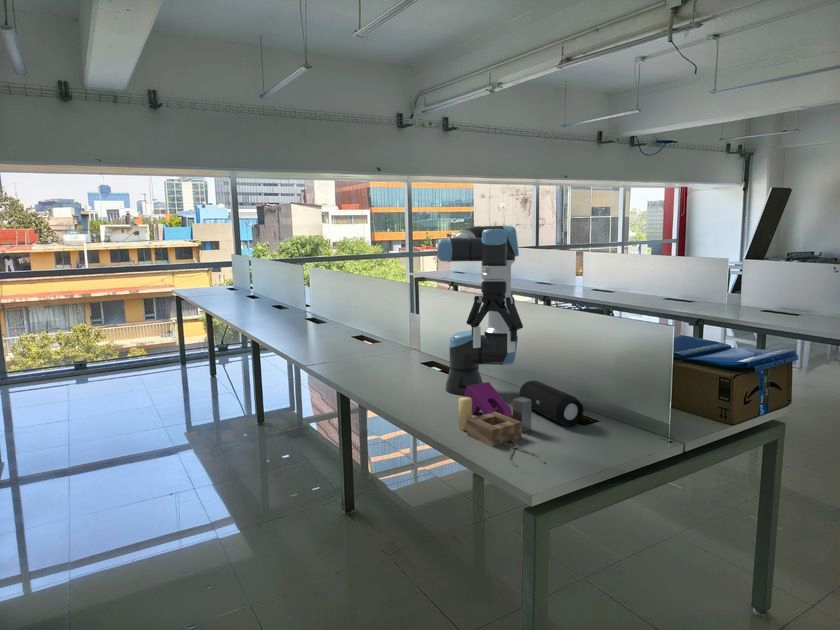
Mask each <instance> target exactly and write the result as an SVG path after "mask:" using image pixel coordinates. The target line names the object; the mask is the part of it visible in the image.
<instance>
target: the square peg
mask: <svg viewBox="0 0 840 630" xmlns="http://www.w3.org/2000/svg"><path fill="white" fill-rule="evenodd" d="M531 405H532V400H530V399H527V398H524V397H520V396H519V397H516V398H513V399H512V419H515V420H518V421H520V422H522V428H521V434H522V433H526V432H528V431H532V409H531Z"/></svg>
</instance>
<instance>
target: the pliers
mask: <svg viewBox="0 0 840 630" xmlns="http://www.w3.org/2000/svg"><path fill="white" fill-rule="evenodd" d="M509 442H510V443H509ZM502 445H504V446H505V447H506V448H508V450H509V456H508V461H509V462H510V463H511V465H512V466H514V467H515V466H516V467H515V468H518V467H517V466H518V465H517V464H516V463H515V462H514V461H513V456H514V454H515V450H517V451H519V452H522V453H525V454H527V455H530V456H534V457H536V458H537V459H539V460H540V461H541V462H542V463H543V464H546V461H545V459H544V458H543V457H542V456H541V455H538V454H536V453H535V452H532V451H528V450H526V449H524V448H522V447H521V446H520V445H519V444H518V442H517V441H515V440H513V439H510V441H508V442H506V441H504V442H503V443H502Z"/></svg>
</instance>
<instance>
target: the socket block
mask: <svg viewBox="0 0 840 630" xmlns="http://www.w3.org/2000/svg"><path fill="white" fill-rule="evenodd" d="M521 428H522V422H520V421H518V420H515V419H513V417H511V416H510V417H507V416H505V415H502V414H501V413H500V412H497V411H496V412H493V413H489V414H486V415H484V414H481V415H478V416H474V417H472V418H470V419H467V431H466V436H467V435H468V436H469V437H471V438H474V439H476V440H478V441H480V442H482V443H484V444H486V445H488V446H491V447H495V446H497V445H498V446H499V445H501V444H502V445H503V442H504V441H506V442H508V443H509V442H511V441H510V439H513V440H514V441H515V440H518V439H520V438H522V433H521Z"/></svg>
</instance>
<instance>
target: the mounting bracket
mask: <svg viewBox="0 0 840 630" xmlns="http://www.w3.org/2000/svg"><path fill="white" fill-rule="evenodd" d="M463 397H470V398H472V415H473V414H477V413H480V411H481V412H482V414H483V415H486V414H489V413H493V412H497V410H498V412H499V413H500V414H502V415H505V416H507V417H510V418H511V417H512V414H513V410H512V408H511V407H510V405H509V404H508V403H507V402H506V401H505V400H504V398H503V397H502V396H501V395H500V394H499V392H497V390H496V389H495V388H494V387H493V386H492V384H491V383H490V382H489V381H487V382H483V383H480V384H474V385H469V386H467V387H466V390H465V393H464V394H463ZM495 409H497V410H495Z"/></svg>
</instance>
